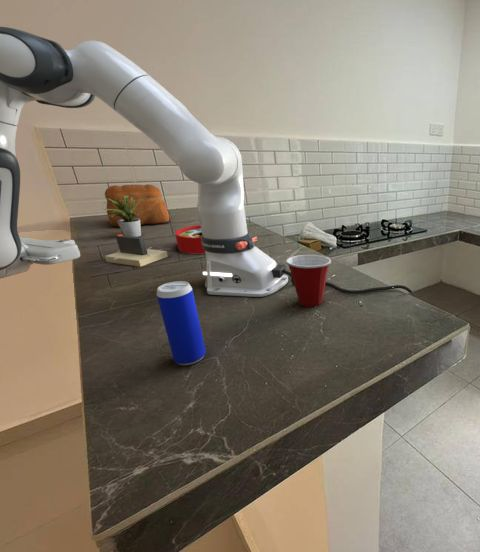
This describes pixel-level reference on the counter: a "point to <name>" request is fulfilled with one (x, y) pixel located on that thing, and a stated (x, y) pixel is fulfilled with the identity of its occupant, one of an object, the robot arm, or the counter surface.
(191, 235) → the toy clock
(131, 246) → the dark grey flat block
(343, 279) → the counter surface
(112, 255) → the panel
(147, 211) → the bread
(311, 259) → the plastic cup
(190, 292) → the beverage can
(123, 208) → the house plant
